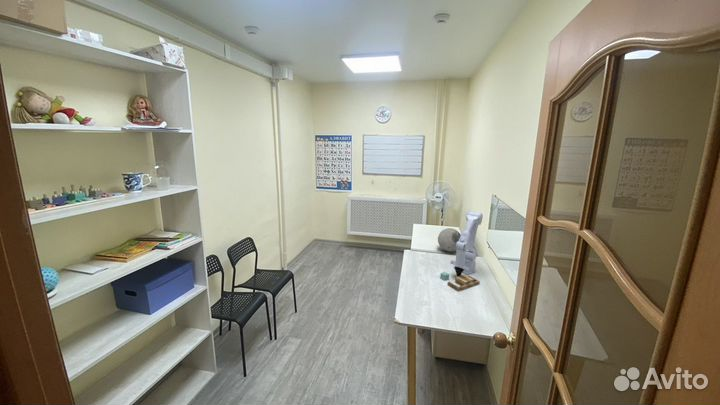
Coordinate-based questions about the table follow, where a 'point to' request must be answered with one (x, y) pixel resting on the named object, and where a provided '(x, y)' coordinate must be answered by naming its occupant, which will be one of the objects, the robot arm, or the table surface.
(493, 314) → the table surface
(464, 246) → the robot arm
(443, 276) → the teal block
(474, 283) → the walnut frame
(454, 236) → the moon model
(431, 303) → the table surface
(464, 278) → the oak slab
